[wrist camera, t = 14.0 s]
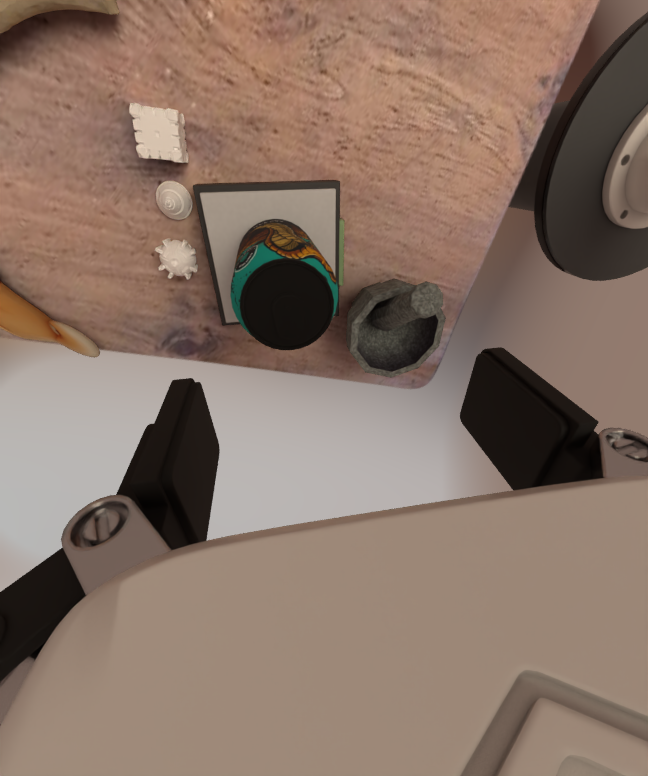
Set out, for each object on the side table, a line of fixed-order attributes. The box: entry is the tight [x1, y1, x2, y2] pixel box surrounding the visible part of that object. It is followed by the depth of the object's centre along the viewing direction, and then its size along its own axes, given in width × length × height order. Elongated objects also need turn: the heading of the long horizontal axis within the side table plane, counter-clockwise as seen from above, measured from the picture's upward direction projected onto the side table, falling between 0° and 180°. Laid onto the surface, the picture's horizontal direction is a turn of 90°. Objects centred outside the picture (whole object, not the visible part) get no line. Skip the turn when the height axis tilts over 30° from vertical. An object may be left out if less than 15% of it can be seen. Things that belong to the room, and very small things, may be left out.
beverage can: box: [230, 219, 338, 350], centre depth 24 cm, size 7×7×12 cm
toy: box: [0, 282, 100, 357], centre depth 28 cm, size 3×17×5 cm
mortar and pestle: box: [346, 279, 446, 377], centre depth 32 cm, size 11×9×12 cm
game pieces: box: [129, 103, 198, 280], centre depth 27 cm, size 12×3×3 cm, turn 174°
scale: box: [193, 180, 344, 325], centre depth 31 cm, size 12×12×3 cm
